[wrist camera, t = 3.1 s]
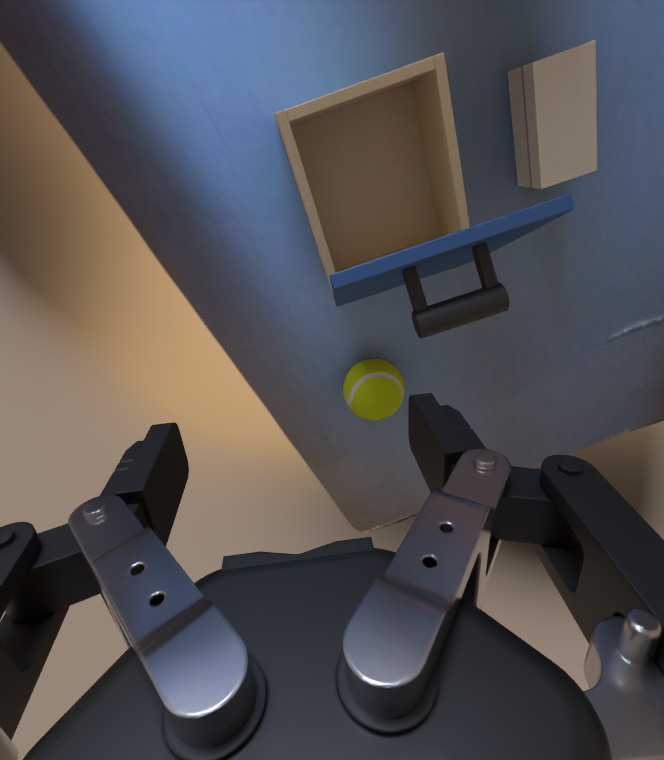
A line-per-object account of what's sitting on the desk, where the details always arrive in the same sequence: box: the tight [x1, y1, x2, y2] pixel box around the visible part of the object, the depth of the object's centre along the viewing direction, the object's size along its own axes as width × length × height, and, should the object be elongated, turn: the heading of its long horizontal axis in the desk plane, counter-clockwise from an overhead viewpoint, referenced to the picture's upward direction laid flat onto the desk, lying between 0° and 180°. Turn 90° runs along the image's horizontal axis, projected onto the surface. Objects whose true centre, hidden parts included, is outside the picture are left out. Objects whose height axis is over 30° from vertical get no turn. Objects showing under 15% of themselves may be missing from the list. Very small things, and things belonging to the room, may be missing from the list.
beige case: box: [507, 40, 597, 189], centre depth 37 cm, size 10×5×4 cm, turn 17°
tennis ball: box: [343, 359, 405, 420], centre depth 47 cm, size 7×7×7 cm
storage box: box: [275, 53, 470, 297], centre depth 37 cm, size 15×13×7 cm
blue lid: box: [329, 194, 574, 338], centre depth 29 cm, size 15×13×5 cm
